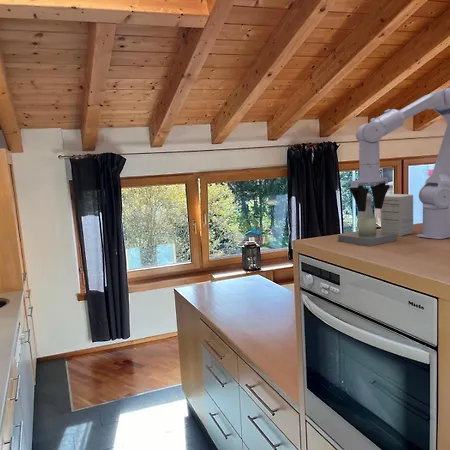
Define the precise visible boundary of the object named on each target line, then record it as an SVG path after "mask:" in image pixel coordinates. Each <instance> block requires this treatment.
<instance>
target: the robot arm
mask: <svg viewBox="0 0 450 450" xmlns="http://www.w3.org/2000/svg"><path fill="white" fill-rule="evenodd" d="M426 110H433V111H434V112H436V113H437V114H438V115H440V116H441V117H443V118H444V120H445V121H446V123H447V124H446V127H445V131H444V134H443V138H442V141H441V144H440V147H439V151H438V153H437V157H436V161H435V163H434V166H433V170H432V173H431V175H430V176H429V177H428V178H426V180H425V182H424V185H423V186H422V187H421V188H420V190H419V192H418V198H419V202H420V203H422V233H420V234H416V237H420V238H427V239H434V240H443V239H447V238H450V87H446V88H443V89H438V90H436V91H434V92H430V93H429V94H425V95H423V96H422V97H420V98H418V99H416V100H415V101H413V102H412V103H410V104H408V105H406V106H405V107H403V108H401V109H396V108H393V109H390V108H388V109H386V110H384V113H383V114H381V115H380V116H377V117H373V118H370V119H369V121H370V122H369V123H368V122H367V123H364V124H361V125H360V126H359V127H358V128H357V131H356V133H355V137H356V138H355V139H356V141H357V142H358V155H359V156H358V160H359V170H358V171H359V179H357V180H356V179H355V180H350V187H349V191H350V193H351V195H352V196H353V199H354V201H355V204H356V207H357V208H356V209H357V211H358V212H359V211H362V212H364V211H365V210H366V199H367V194H369V191H370V189H371V192H372V199H373V207H374V209H376V210H378V209H379V210H381V209H382V206H383V202H384V198H385V195H387V193H388V191H389V189H390V187H391V186H390V184H389V178H388V177H381V175H380V174H381V173H380V172H381V171H380V170H381V169H380V168H381V166H380V162H381V161H380V155H381V154H380V141H381V139H382V138H383V137H385V136H387V135H389V134H391V133H392V132H394V131H396V130H398V129H400V128H402V127H403V125H404V123H405V120H407V119H409V118H411V117H413V116H415V115H418V114H419V113H421V112H423V111H426ZM368 186H369V187H370V188H369V187H368Z"/></svg>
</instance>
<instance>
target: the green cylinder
mask: <svg viewBox="0 0 450 450" xmlns="http://www.w3.org/2000/svg"><path fill="white" fill-rule="evenodd" d="M358 231H359V235H363V236H372V235H376V231H377V217H375V216H373V217H360V218H359V229H358Z"/></svg>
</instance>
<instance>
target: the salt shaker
mask: <svg viewBox="0 0 450 450" xmlns="http://www.w3.org/2000/svg"><path fill="white" fill-rule="evenodd" d="M372 200H373V194H371V193H368V194H367V199H366V210H365V211H364V212H362V211H358V216H357V221H356V227H357V229H358V230H359V218H360V217H374V213H373V208H372V203H371V201H372Z"/></svg>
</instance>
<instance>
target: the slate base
mask: <svg viewBox="0 0 450 450" xmlns="http://www.w3.org/2000/svg"><path fill="white" fill-rule="evenodd" d="M337 236H338V237H337V238H338V241H337V242H339V243H340V242H341V243H347V244H353V245H359V246H360V245H361V246H367V247H373V246H378V245H382V244H383V245H384V244H386V243H391V242H395V241H397V240H398V239H397V237H398V236H397V234H394V233H386V232H381V231H378V230H376V235H372V236H363V235H359V230H357V231H352V232H348V233H340V234H338V235H337Z"/></svg>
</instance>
